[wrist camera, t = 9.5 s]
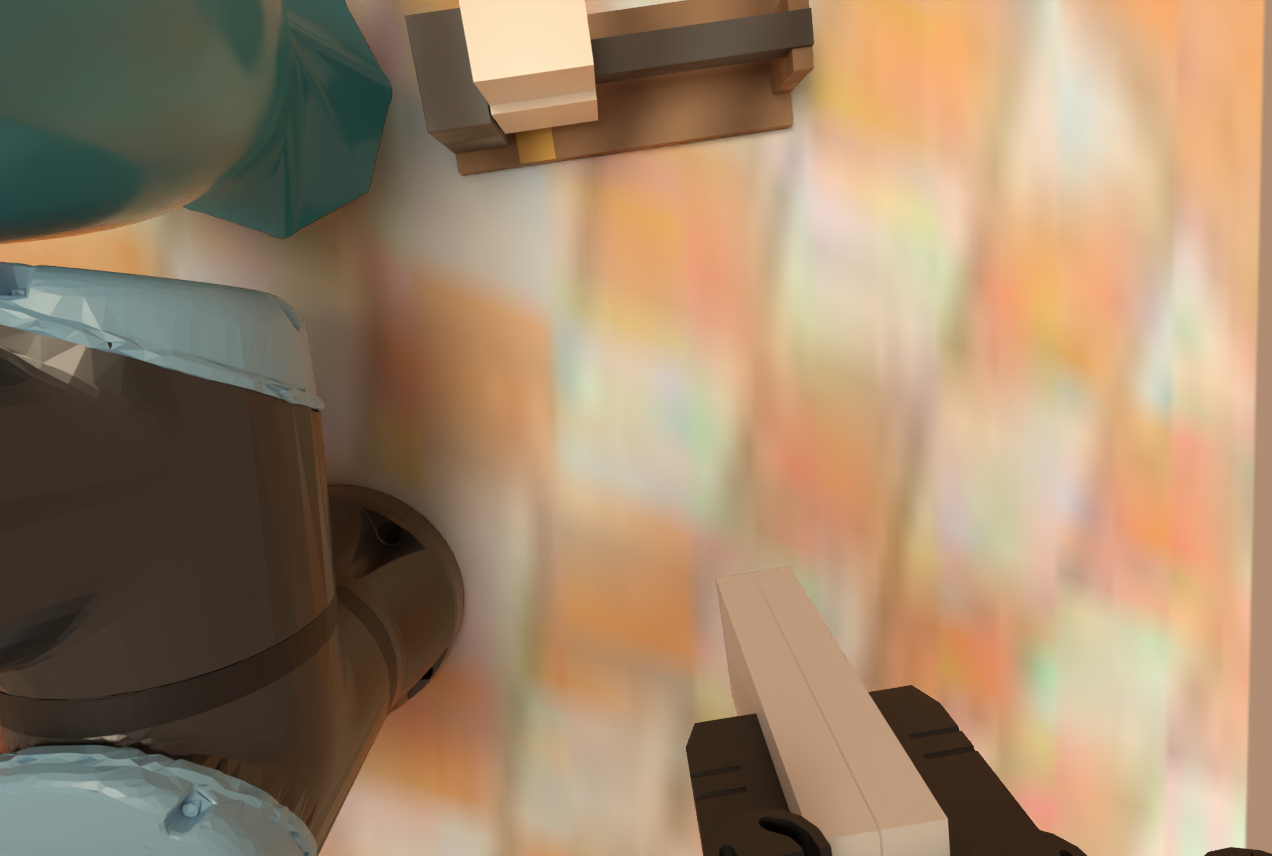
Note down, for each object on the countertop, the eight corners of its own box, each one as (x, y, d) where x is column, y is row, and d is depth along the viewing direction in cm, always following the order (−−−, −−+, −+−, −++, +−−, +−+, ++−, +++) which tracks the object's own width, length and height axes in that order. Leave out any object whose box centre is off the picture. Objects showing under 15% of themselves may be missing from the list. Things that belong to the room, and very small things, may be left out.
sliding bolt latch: (462, 175, 39) (432, 154, 32) (437, 42, 38) (400, -9, 31) (788, 128, 39) (825, 97, 33) (776, -6, 38) (813, -68, 31)
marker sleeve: (505, 133, 36) (475, 92, 28) (489, 43, 35) (453, -27, 27) (598, 120, 36) (595, 75, 28) (585, 30, 35) (578, -44, 27)
